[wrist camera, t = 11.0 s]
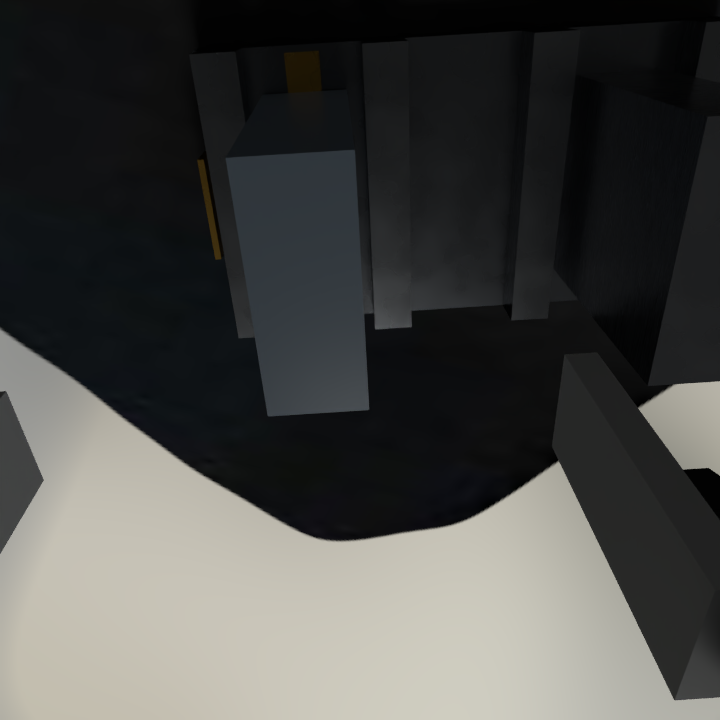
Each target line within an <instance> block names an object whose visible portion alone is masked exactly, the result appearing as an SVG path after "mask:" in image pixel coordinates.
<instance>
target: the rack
mask: <svg viewBox="0 0 720 720" xmlns="http://www.w3.org/2000/svg"><path fill="white" fill-rule="evenodd" d="M192 52H193V53H191V54H189V57H190V62H191V68H192V74H193V79H194V85H195V91H196V96H197V102H198V108H199V114H200V119H201V125H202V131H203V136H204V142H205V148H206V151H204V153H203V154H202V155H201V156H200V157H199V159H198V160H197V161H198V167H199V172H200V177H201V183H202V188H203V194H204V199H205V205H206V210H207V216H208V221H209V226H210V232H211V237H212V243H213V248H214V254H215V259H222V256H223V254H224V256H225V262H226V268H227V273H228V279H229V285H230V290H231V296H232V302H233V307H234V313H235V319H236V325H237V330H238V336H239V338H247V337H255V334H254V328H253V322H252V316H251V310H250V304H249V298H248V292H247V286H246V279H245V273H244V267H243V261H242V255H241V249H240V243H239V237H238V231H237V225H236V219H235V213H234V206H233V200H232V194H231V188H230V182H229V176H228V170H227V164H226V156H227V154H228V153H229V151H230V149H231V148H232V146H233V144H234V143H235V141H236V139H237V137H238V136H239V134H240V132H241V131H242V129H243V127H244V125H245V124H246V122H247V120H248V119H249V117H250V115H251V114H252V112H253V110H254V108H255V107H256V105H257V103H258V102H259V100H260V98H261V96H262V95H264V94H280V93H296V92H312V91H328V90H344V89H347V95H348V102H349V110H350V117H351V125H352V132H353V140H354V147H355V162H356V180H357V198H358V216H359V235H360V253H361V271H362V289H363V308H364V314H366V313H373V316H374V324H375V329H386V328H402V327H412V325H411V311H413V310H428V309H444V308H459V307H475V306H490V305H503V306H504V308H505V310H506V312H507V314H508V315H509V317H510V319H511V320H525V319H541V318H548V309H549V302H552V301H568V300H579V301H580V302H581V304H582V305H583V306H584V307H585V309H586V310H587V311H588V312H589V314H590V315H591V316H592V317H593V319H594V320H595V321H596V322H597V324H598V325H599V326H600V327H601V329H602V330H603V331H604V332H605V333H606V335H607V336H608V337H609V338H610V340H611V341H612V342H613V343H614V345H615V346H616V347H617V348H618V350H619V351H620V352H621V353H622V355H623V356H624V357H625V358H626V359H627V361H628V362H629V363H630V364H631V366H632V367H633V368H634V369H635V371H636V372H637V373H638V374H639V376H640V377H641V378H642V379H643V381H644V382H645V383H646V384H647V386H653V385H669V384H684V383H698V382H714V381H720V17H700V18H684V19H668V20H652V21H636V22H620V23H604V24H588V25H572V26H556V27H540V28H524V29H508V30H492V31H476V32H460V33H443V34H427V35H411V36H395V37H379V38H363V39H347V40H331V41H315V42H299V43H283V44H267V45H251V46H235V47H219V48H203V49H197V50H194V51H192Z"/></svg>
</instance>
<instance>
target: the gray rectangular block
mask: <svg viewBox="0 0 720 720" xmlns="http://www.w3.org/2000/svg"><path fill="white" fill-rule="evenodd" d="M226 164H227V170H228V176H229V182H230V188H231V194H232V200H233V206H234V213H235V219H236V225H237V231H238V237H239V243H240V249H241V255H242V261H243V267H244V273H245V279H246V286H247V292H248V298H249V304H250V310H251V316H252V322H253V328H254V334H255V340H256V346H257V352H258V359H259V365H260V371H261V377H262V383H263V389H264V395H265V401H266V407H267V413H268V416H281V415H296V414H312V413H327V412H342V411H358V410H369V399H368V381H367V363H366V344H365V326H364V308H363V289H362V271H361V253H360V235H359V216H358V198H357V180H356V162H355V147H354V140H353V132H352V125H351V117H350V110H349V102H348V95H347V89H344V90H328V91H312V92H296V93H280V94H264V95H262V96H261V98H260V100H259V102H258V103H257V105H256V107H255V108H254V110H253V112H252V114H251V115H250V117H249V119H248V120H247V122H246V124H245V125H244V127H243V129H242V131H241V132H240V134H239V136H238V137H237V139H236V141H235V143H234V144H233V146H232V148H231V149H230V151H229V153H228V154H227V156H226Z"/></svg>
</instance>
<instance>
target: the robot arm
mask: <svg viewBox="0 0 720 720" xmlns="http://www.w3.org/2000/svg"><path fill="white" fill-rule="evenodd" d="M552 447H553V450H554V452H555V454H556V456H557V458H558V460H559V462H560V464H561V466H562V468H563V470H564V472H565V474H566V476H567V478H568V480H569V483H570V485H571V487H572V489H573V491H574V493H575V495H576V497H577V499H578V501H579V503H580V505H581V508H582V510H583V512H584V514H585V516H586V518H587V520H588V522H589V524H590V526H591V528H592V530H593V532H594V535H595V536H596V539H597V541H598V543H599V545H600V547H601V549H602V551H603V553H604V555H605V557H606V559H607V561H608V563H609V566H610V568H611V570H612V572H613V574H614V576H615V578H616V580H617V582H618V584H619V586H620V588H621V590H622V592H623V594H624V597H625V599H626V601H627V603H628V605H629V607H630V609H631V611H632V613H633V615H634V617H635V619H636V621H637V624H638V626H639V628H640V630H641V632H642V634H643V636H644V638H645V640H646V642H647V644H648V646H649V648H650V651H651V653H652V655H653V657H654V659H655V661H656V663H657V665H658V667H659V669H660V671H661V673H662V675H663V678H664V680H665V681H666V684H667V686H668V688H669V690H670V692H671V694H672V696H673V698H674V700H686V699H699V698H714V697H720V476H719V475H718V474H716V473H715V472H713V471H712V470H711V469H709V468H702V469H687V470H683V469H682V468H681V467H680V465H679V464H678V462H677V461H676V460H675V458H674V457H673V456H672V454H671V453H670V452H669V450H668V449H667V448H666V446H665V445H664V443H663V442H662V441H661V439H660V438H659V436H658V435H657V434H656V432H655V431H654V430H653V428H652V427H651V426H650V424H649V423H648V421H647V420H646V419H645V417H644V416H643V415H642V413H641V412H640V411H639V409H638V408H637V406H636V405H635V404H634V402H633V401H632V400H631V398H630V397H629V396H628V394H627V393H626V391H625V390H624V389H623V387H622V386H621V385H620V383H619V382H618V380H617V379H616V378H615V376H614V375H613V374H612V372H611V371H610V370H609V368H608V367H607V365H606V364H605V363H604V361H603V360H602V359H601V357H600V356H599V355H598V353H583V354H568V355H565V356H564V363H563V370H562V378H561V385H560V392H559V399H558V407H557V414H556V421H555V428H554V436H553V443H552ZM42 482H43V477H42V475H41V473H40V470H39V468H38V466H37V463H36V461H35V459H34V456H33V454H32V452H31V449H30V447H29V444H28V442H27V440H26V437H25V435H24V433H23V430H22V428H21V425H20V423H19V421H18V418H17V416H16V414H15V411H14V409H13V406H12V404H11V402H10V399H9V397H8V394H7V392H6V391H4V392H0V553H1V552H2V550H3V548H4V547H5V545H6V543H7V541H8V540H9V538H10V536H11V535H12V533H13V531H14V529H15V528H16V526H17V524H18V523H19V521H20V519H21V518H22V516H23V514H24V513H25V511H26V509H27V508H28V505H29V504H30V502H31V501H32V499H33V497H34V496H35V494H36V492H37V491H38V489H39V487H40V485H41V484H42Z"/></svg>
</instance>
